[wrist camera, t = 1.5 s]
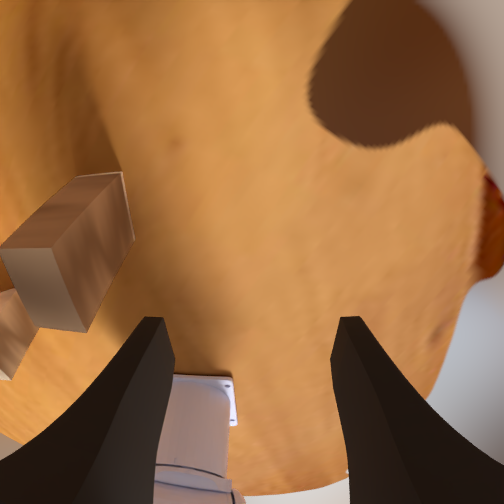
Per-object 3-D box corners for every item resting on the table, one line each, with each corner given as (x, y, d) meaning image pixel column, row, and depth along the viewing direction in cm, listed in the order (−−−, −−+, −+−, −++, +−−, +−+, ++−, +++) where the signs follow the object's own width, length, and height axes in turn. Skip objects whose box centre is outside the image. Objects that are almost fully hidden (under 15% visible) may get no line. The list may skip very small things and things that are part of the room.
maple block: (43, 320, 24) (11, 380, 18) (24, 323, 25) (-7, 378, 19) (19, 286, 22) (-21, 345, 16) (0, 292, 23) (-37, 346, 17)
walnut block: (135, 239, 19) (86, 332, 13) (92, 239, 20) (35, 326, 13) (122, 171, 17) (51, 247, 10) (76, 176, 17) (-3, 248, 10)
